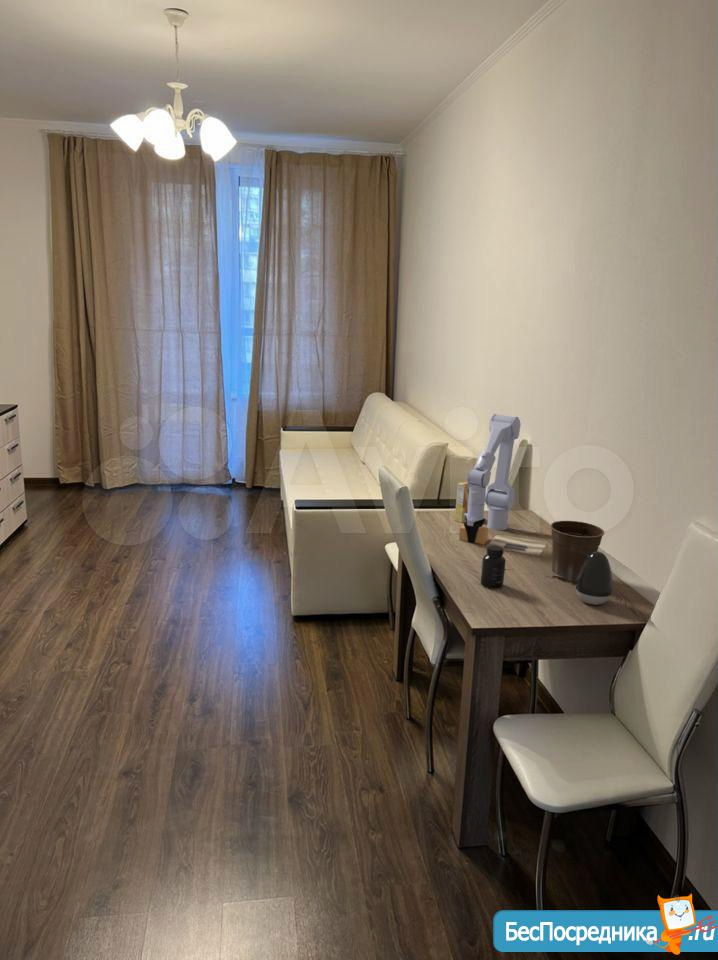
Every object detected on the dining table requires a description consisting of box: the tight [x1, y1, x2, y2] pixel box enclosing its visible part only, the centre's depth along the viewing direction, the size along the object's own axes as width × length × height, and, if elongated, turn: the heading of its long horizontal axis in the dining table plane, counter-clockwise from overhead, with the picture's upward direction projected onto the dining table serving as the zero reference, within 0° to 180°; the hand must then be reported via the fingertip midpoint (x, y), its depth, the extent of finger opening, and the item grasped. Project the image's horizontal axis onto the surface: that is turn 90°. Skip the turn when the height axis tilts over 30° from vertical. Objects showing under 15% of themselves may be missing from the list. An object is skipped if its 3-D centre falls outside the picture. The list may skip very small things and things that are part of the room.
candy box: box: [454, 481, 469, 523], centre depth 288 cm, size 9×4×15 cm, turn 129°
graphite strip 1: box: [506, 542, 527, 548], centre depth 256 cm, size 2×7×1 cm, turn 67°
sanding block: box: [458, 523, 489, 545], centre depth 260 cm, size 5×9×6 cm, turn 68°
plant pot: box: [550, 520, 605, 584], centre depth 231 cm, size 16×16×16 cm
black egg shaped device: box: [575, 551, 614, 606], centre depth 212 cm, size 10×10×15 cm
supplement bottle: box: [480, 545, 506, 589], centre depth 221 cm, size 7×7×12 cm
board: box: [486, 534, 548, 557], centre depth 258 cm, size 16×18×2 cm
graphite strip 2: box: [504, 545, 525, 551], centre depth 253 cm, size 2×7×1 cm, turn 67°
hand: (473, 540), depth 260 cm, fingers closed on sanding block, 5 cm apart
